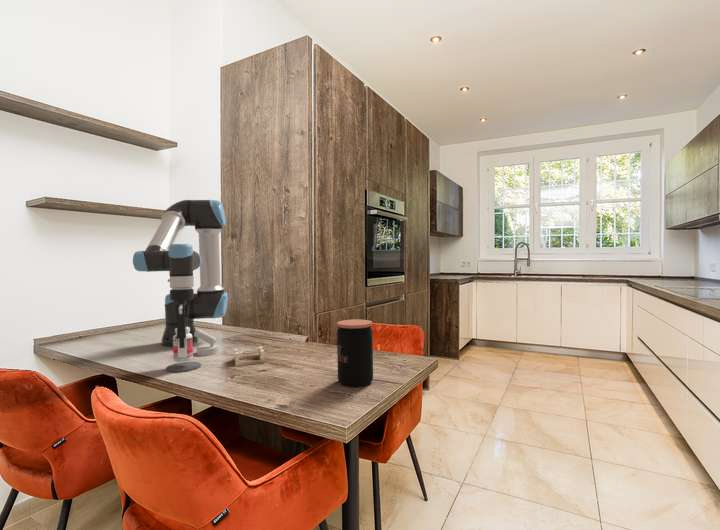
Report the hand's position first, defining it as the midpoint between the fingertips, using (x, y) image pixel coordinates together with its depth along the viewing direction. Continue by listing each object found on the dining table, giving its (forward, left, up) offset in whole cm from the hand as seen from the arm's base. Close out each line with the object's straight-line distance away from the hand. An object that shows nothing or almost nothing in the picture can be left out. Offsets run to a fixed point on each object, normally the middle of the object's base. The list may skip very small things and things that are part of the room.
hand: (183, 354), depth 133 cm
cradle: (0, +22, -5) cm, 22 cm away
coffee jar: (+38, +50, -5) cm, 63 cm away
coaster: (0, 0, -5) cm, 5 cm away
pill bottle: (0, 0, -2) cm, 2 cm away
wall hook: (-20, +7, -5) cm, 22 cm away
